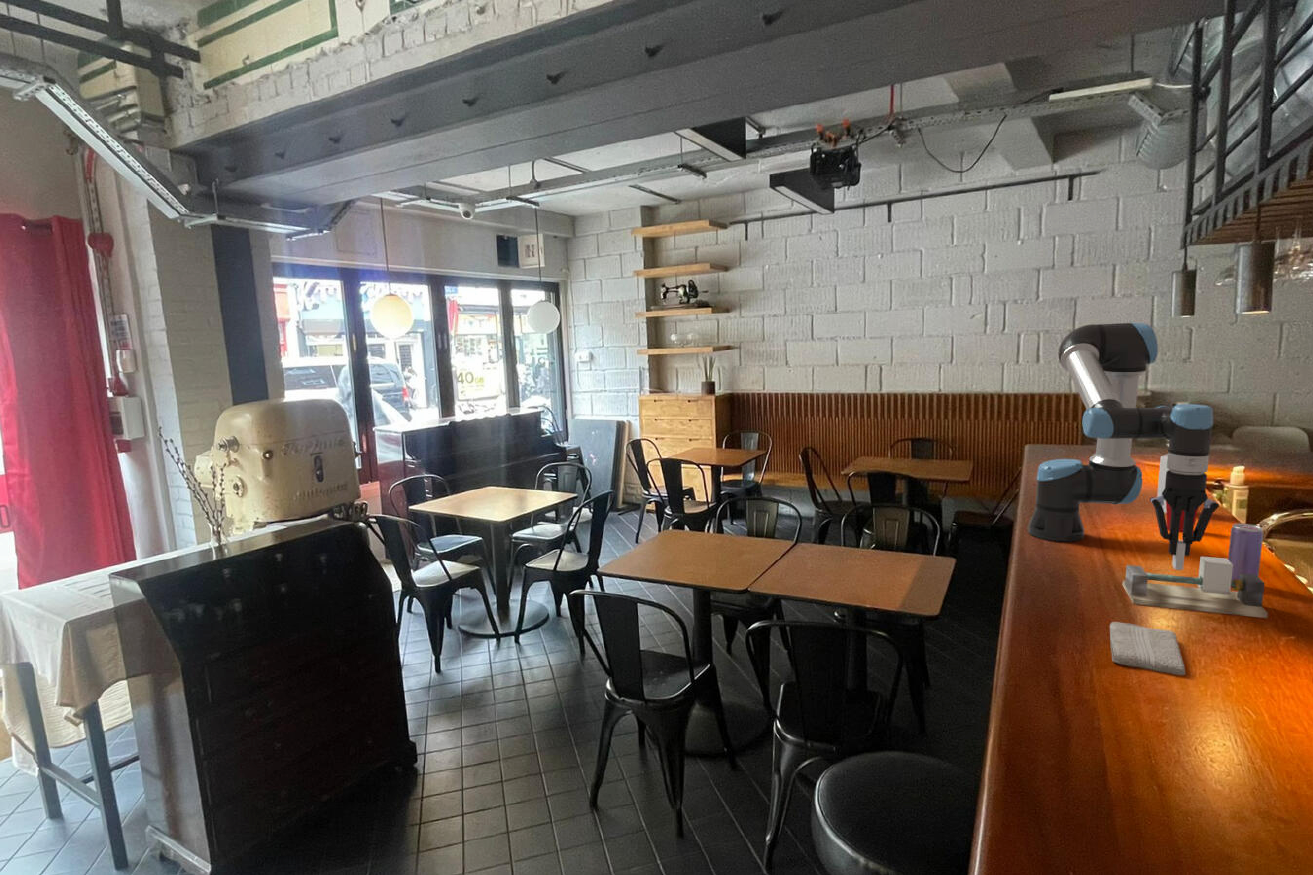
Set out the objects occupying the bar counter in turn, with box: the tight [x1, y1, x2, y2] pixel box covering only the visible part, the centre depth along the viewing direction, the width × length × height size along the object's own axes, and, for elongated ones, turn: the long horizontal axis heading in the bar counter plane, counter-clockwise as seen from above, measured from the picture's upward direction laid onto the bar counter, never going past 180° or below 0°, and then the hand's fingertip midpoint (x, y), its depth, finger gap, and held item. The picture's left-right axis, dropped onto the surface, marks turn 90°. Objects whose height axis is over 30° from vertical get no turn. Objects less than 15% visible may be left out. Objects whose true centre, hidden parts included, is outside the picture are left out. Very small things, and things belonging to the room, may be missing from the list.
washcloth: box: [1109, 621, 1186, 676], centre depth 140 cm, size 12×18×3 cm, turn 150°
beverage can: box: [1227, 523, 1264, 581], centre depth 169 cm, size 6×6×15 cm
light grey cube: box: [1197, 556, 1233, 595], centre depth 160 cm, size 5×4×7 cm
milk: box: [1156, 453, 1169, 514], centre depth 229 cm, size 6×6×22 cm
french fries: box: [1165, 502, 1200, 533], centre depth 211 cm, size 8×4×12 cm, turn 57°
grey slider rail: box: [1122, 564, 1269, 619], centre depth 162 cm, size 25×12×7 cm, turn 66°
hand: (1177, 567), depth 163 cm, fingers closed
